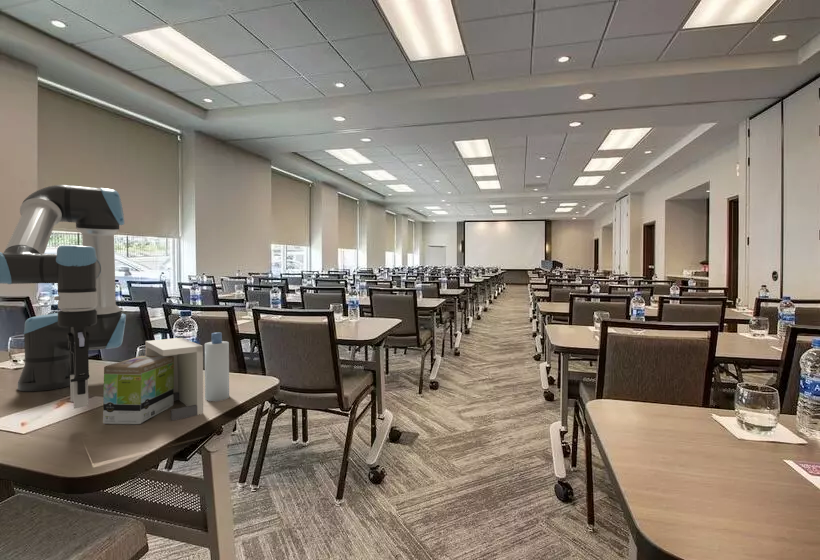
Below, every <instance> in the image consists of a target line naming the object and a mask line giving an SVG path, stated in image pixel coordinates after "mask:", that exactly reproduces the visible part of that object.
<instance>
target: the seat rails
mask: <svg viewBox="0 0 820 560" xmlns="http://www.w3.org/2000/svg"><path fill="white" fill-rule="evenodd" d="M175 401H180V400H179V393H178V392H175V393H174V401H173V402H175ZM195 415H196V416H198V415H197V405H191V406H186V405H185V406H182V407H177V408H172V409H170V420H171V421H176V420H182V419H186V417H187V418H190V417H195Z"/></svg>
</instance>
